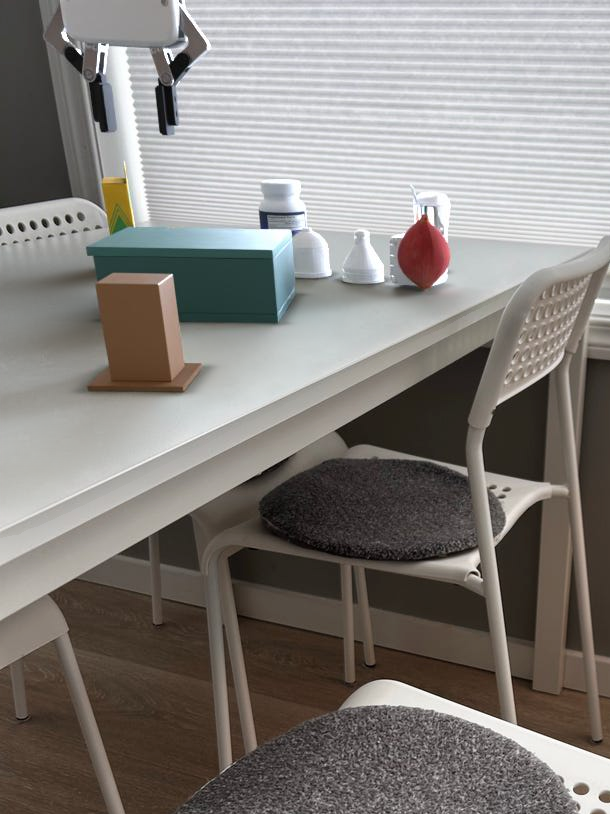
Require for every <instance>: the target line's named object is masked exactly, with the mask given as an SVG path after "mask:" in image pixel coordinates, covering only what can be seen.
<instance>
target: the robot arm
mask: <svg viewBox="0 0 610 814" xmlns="http://www.w3.org/2000/svg"><path fill="white" fill-rule="evenodd" d="M67 35H68V37H70V38H71V39H73V40H75V41H78V42H81V43H84V47H83V48H84V50H83V51H82V50H81V49H80V48H79V47H77V46H75V45H74V44H73V42H71V41H70V40H69V39H68V37H67ZM42 38H43V41H44V42H46V44H48V46H51V48H52V49H54V50H55V51H57V53H59V54H60V55H62V56H63V57H64V58H65V59H66V60H67V61H68V62H69V64H71V66H72V67H73V68H75V69H76V71H77V72H79V74H80V75H81V76H82V78H83V80H84V81H86V82H87V83H88V89H89V97H90V103H91V111H92V117H93V120H94V122H95V123H98V124H99V130H100V133H107V134H108V133H115V132H117V130H118V126H117V125H118V124H117V118H116V117H117V116H116V109H115V102H114V101H115V99H114V94H113V87H112V84H110V83H109V82H108V79H107V75H106V69H107V60H108V59H107V58H108V49H109V47H119V48H121V47H122V48H137V49H149V52H150V55H151V58H152V61H153V64H154V67H155V69H156V72H157V75H158V78H157V85H155V87H154V94H155V102H156V104H155V105H156V112H157V122H158V131H159V134H160V135H162V136H174V135H175V134H176V131H175V130H176V129H175V127H179V125H180V116H179V114H180V113H179V105H178V95H177V93H178V92H177V87H178V86H179V84H180V82H181V81H182V80H183V78H184V77H185V75H186V74H187V73H188V72H189V71H190V70H191V68H192V67H193V65H194V64H196V63H197V62H198V61H200V59H201V58H203V57H204V56H205V55H206V54H207V53H208V52H209V51H210V50H211V44H210V42H209V40H208V39H207V38H206V36H205V35H204V33H203V32H202V31H201V29H200V28H199V26H198V25H197V24H196V22H195V21H194V19H193V18H192V17H191V15H190V14H189V13H188V11H187V10H186V4H185V0H59V3H58V4H57V6H56V9H55V10H54V12H53V14H52V16H51V18H50V20H49V22H48V23H47V25H46V27H45V29H44V30H43V33H42ZM186 44H187V45H186ZM185 45H186V46H185ZM184 46H185V47H184ZM182 47H184V49H183V50H181V51H180V52H178V53H177V54H176V55H175V56H174V57H173V54H172V51H171V50H174V49H175V50H176V49H179V48H182Z"/></svg>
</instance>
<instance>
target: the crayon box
mask: <svg viewBox="0 0 610 814" xmlns="http://www.w3.org/2000/svg"><path fill="white" fill-rule="evenodd" d="M122 167H123V172H124V177H117V176H114V177H113V176H112V177H103V178H102V180H101V189H102V196H103V201H104V206H105V212H106V218H107V219H106V220H107V225H108V230H109V236H110V235H112V234H114V233H117V232H119V231H121V230H123V229H125V228H127V227H136V225H135V217H134V212H133V205H132V199H131V193H130V186H129V181H128V174H127V167H126V162H125V160H123V166H122Z"/></svg>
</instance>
